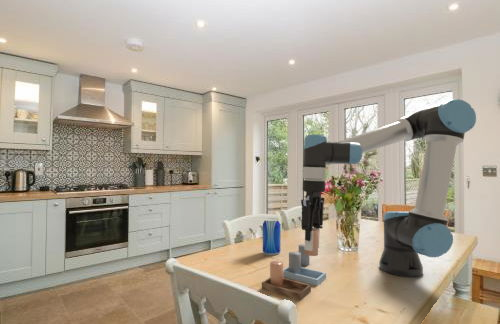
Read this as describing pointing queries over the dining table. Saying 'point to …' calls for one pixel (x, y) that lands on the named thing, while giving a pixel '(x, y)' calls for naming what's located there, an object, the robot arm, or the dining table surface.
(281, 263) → the cylinder
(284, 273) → the trough
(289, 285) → the trough
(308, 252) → the cylinder
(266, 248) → the beer can
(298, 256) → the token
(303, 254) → the cylinder
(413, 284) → the dining table surface
